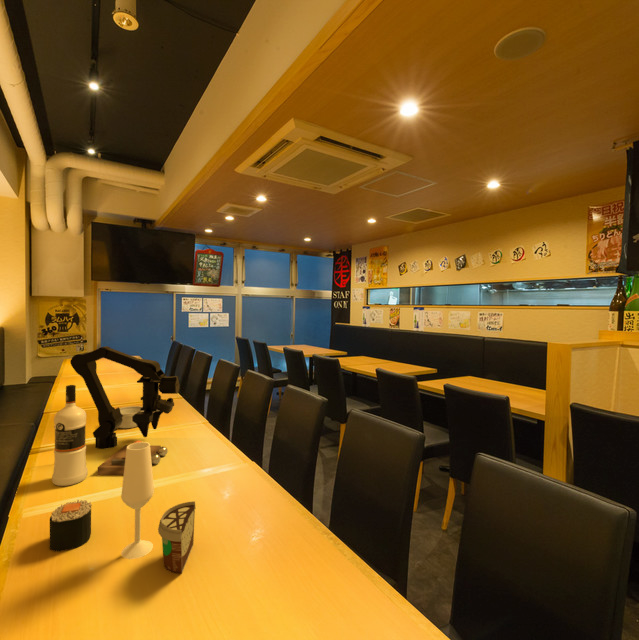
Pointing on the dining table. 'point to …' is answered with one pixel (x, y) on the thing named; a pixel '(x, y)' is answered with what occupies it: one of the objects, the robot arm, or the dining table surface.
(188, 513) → the food container
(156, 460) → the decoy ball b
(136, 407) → the ramekin
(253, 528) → the dining table surface
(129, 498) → the champagne flute
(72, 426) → the vodka
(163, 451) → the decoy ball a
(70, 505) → the sushi
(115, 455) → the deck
